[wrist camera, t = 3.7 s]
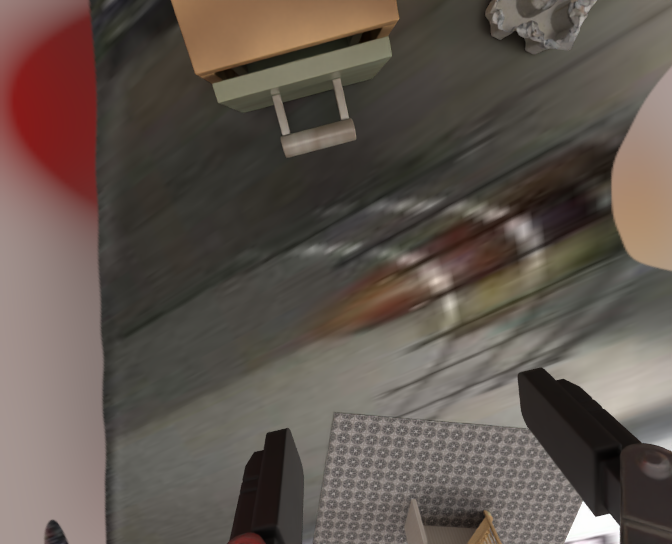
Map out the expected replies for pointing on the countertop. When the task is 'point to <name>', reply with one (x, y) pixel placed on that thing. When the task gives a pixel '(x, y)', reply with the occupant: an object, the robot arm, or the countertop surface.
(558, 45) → the egg carton
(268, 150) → the countertop surface
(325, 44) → the drawer
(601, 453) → the robot arm
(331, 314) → the countertop surface
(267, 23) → the cabinet
